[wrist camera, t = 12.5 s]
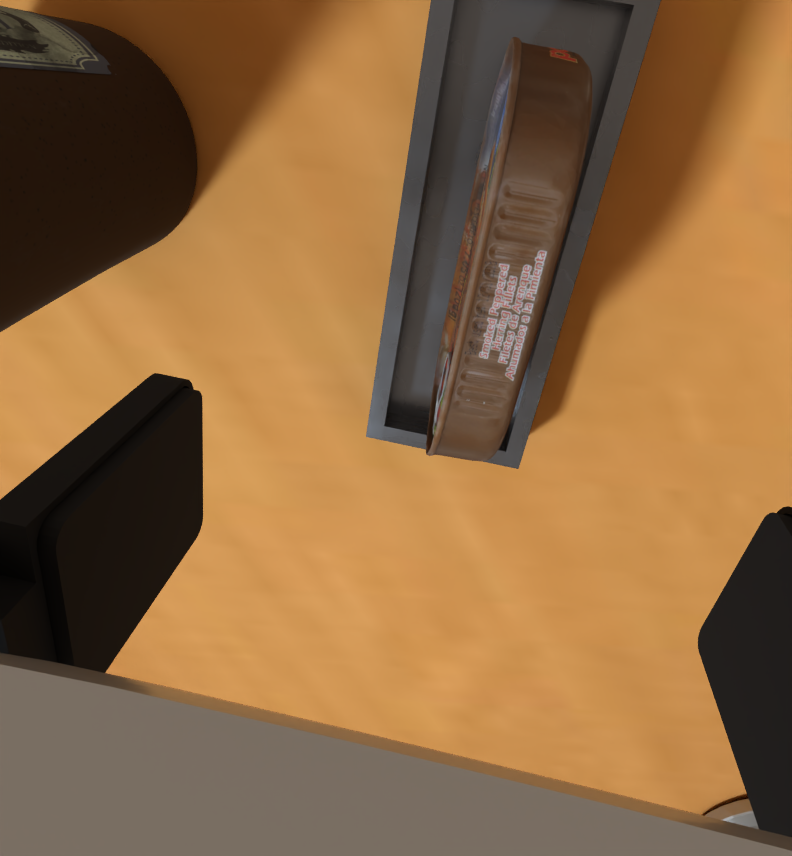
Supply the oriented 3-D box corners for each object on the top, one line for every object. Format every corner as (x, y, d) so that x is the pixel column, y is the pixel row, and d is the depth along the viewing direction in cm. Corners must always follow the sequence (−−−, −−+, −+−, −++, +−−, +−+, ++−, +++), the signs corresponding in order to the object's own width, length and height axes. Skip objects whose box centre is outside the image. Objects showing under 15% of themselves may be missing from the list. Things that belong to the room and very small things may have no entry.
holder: (651, -11, 23) (667, -21, 20) (517, 443, 32) (518, 468, 30) (445, -45, 23) (439, -58, 21) (375, 413, 33) (365, 436, 31)
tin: (503, 41, 23) (502, 24, 16) (586, 56, 23) (625, 46, 16) (428, 395, 31) (405, 493, 24) (491, 409, 31) (487, 511, 23)
